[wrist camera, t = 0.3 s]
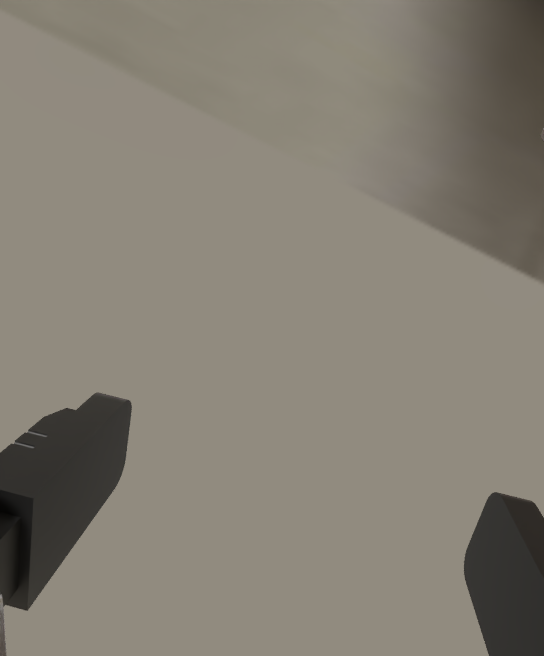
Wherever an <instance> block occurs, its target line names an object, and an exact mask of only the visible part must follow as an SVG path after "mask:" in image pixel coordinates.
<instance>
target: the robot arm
mask: <svg viewBox="0 0 544 656" xmlns="http://www.w3.org/2000/svg"><path fill="white" fill-rule="evenodd" d="M131 408H132V406H131V402H130V401H129V400H126V399H122V398H118V397H114V396H110V395H106V394H102V393H95V394H94V395H92V396H91V397H90V398H89V399H88V400H87V401H86V402H85V403H83V404H82V405H81V406H80V407H79V408H78V409H77V410H73V409H68V408H66V409H63V410H60V411H58V412H55V413H53V414H50V415H48V416H45V417H43V418H42V419H41V420H40V421H39V422H37V423H36V424H35V425H34V426H32V427H31V428H30V429H29V430H28V432H27V433H24V434H23V435H21V436H20V437H19V438H18V439H17V440H15V443H14V444H10V445H9V446H8V447H7V448H6V449H4V450H3V451H2V452H1V453H0V656H6V643H5V629H4V613H3V607H4V606H5V605H9V606H12V607H16V608H19V609H23V610H28V609H29V608H30V606H31V605H32V604H33V602H34V601H35V599H36V598H37V597H38V595H39V594H40V592H41V591H42V589H43V588H44V587H45V585H46V584H47V583H48V581H49V580H50V578H51V577H52V576H53V574H54V573H55V571H56V570H57V569H58V567H59V566H60V564H61V563H62V562H63V560H64V559H65V557H66V556H67V555H68V553H69V552H70V550H71V549H72V548H73V546H74V545H75V544H76V542H77V541H78V539H79V538H80V536H81V535H82V534H83V532H84V531H85V530H86V528H87V527H88V525H89V524H90V522H91V521H92V520H93V518H94V517H95V515H96V514H97V513H98V511H99V510H100V508H101V507H102V506H103V504H104V503H105V502H106V500H107V499H108V497H109V496H110V495H111V493H112V491H113V490H114V489H115V487H116V486H117V484H118V482H119V480H120V477H121V475H122V471H123V468H124V464H125V459H126V451H127V443H128V435H129V427H130V418H131V410H132V409H131ZM464 575H465V580H466V584H467V587H468V590H469V593H470V597H471V600H472V603H473V606H474V609H475V612H476V615H477V619H478V622H479V625H480V628H481V632H482V634H483V638H484V641H485V644H486V647H487V650H488V654H489V656H544V518H543V516H542V514H541V513H540V511H539V509H538V508H537V506H536V505H535V503H533V502H532V501H529V500H525V499H521V498H517V497H513V496H509V495H505V494H501V493H497V492H495V493H492V494H491V495H490V496H489V498H488V500H487V502H486V504H485V506H484V509H483V511H482V514H481V516H480V518H479V521H478V523H477V526H476V528H475V531H474V533H473V535H472V538H471V540H470V543H469V545H468V548H467V550H466V554H465V561H464Z"/></svg>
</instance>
